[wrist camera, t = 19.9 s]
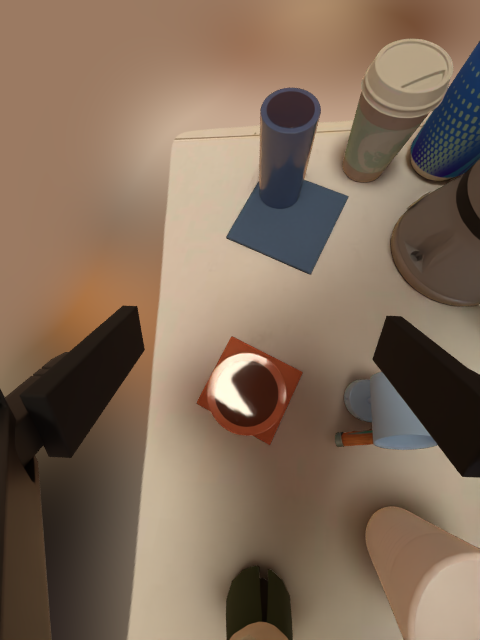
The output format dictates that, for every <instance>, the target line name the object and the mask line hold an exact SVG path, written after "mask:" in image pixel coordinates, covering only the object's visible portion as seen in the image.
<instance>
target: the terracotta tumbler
mask: <svg viewBox="0 0 480 640" xmlns="http://www.w3.org/2000/svg"><path fill="white" fill-rule="evenodd" d="M207 401H208V406H209V409H210V411H211V413H212V415H213V417H214V418H215V420H216V421H217V422H218V423H219V424H220V425H221V426H222V427H223V428H225V429H226V430H228V431H230V432H232V433H235V434H238V435H246V436H249V435H256V434H259V433H262V432H264V431H266V430H268V429H269V428H270V427H272V426H273V425H274V424H275V423H276V422H277V420H278V419H279V418H280V416H281V414H282V412H283V410H284V407H285V403H286V386H285V382H284V379H283V377H282V375H281V373H280V371H279V370H278V368H277V367H276V366H275V365H274V364H273V363H272V362H271V361H270V360H268V359H267V358H265V357H263V356H261V355H258V354H254V353H238V354H235V355H232V356H230V357H228V358H226V359H225V360H223V361H222V362H221V363H220V364H219V365H218V366H217V367H216V368H215V369H214V371H213V373H212V374H211V377H210V379H209V382H208V387H207Z"/></svg>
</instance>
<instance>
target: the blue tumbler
mask: <svg viewBox="0 0 480 640" xmlns="http://www.w3.org/2000/svg"><path fill="white" fill-rule="evenodd" d="M320 113H321V108H320V104H319V102H318V100H317V98H316V97H315V96H314V95H313V94H311V93H310V92H308V91H306V90H303V89H300V88H284V89H280V90H277V91H275V92H273V93H272V94H270V95H269V96H268V97H267V98H266V99H265V100H264V102H263V104H262V106H261V116H260V159H259V196H260V198H261V200H262V201H263V202H264V203H265V204H266V205H268V206H269V207H272V208H276V209H283V208H287V207H290V206H292V205H293V204H295V203H296V202H297V200H298V199H299V197H300V194H301V190H302V186H303V182H304V178H305V174H306V170H307V166H308V162H309V158H310V154H311V150H312V146H313V142H314V138H315V134H316V130H317V126H318V122H319V118H320Z"/></svg>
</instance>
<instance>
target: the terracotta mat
mask: <svg viewBox="0 0 480 640" xmlns="http://www.w3.org/2000/svg"><path fill="white" fill-rule="evenodd" d="M238 353H254V354H258V355H261V356H263V357H265V358H267V359H268V360H270V361H271V362H272V363H273V364H274V365H275V366H276V367H277V368H278V370H279V371H280V373H281V375H282V377H283V379H284V382H285V386H286V403H285V407H284V410H283V412H282V414H281V416H280V418H279V419H278V420H277V422H276V423H275V424H274V425H273V426H272V427H270V428H269V429H268V430H266V431H264V432H262V433H259V434H256V435H253V436H255V437H256V438H258V439H260V440H262V441H263V442H265V443H267V444H269V445H270V443H271V441H272V439H273V437H274V435H275V432H276V430H277V428H278V426H279V424H280V421H281V419H282V417H283V415H284V413H285V410H286V408H287V406H288V404H289V402H290V399H291V397H292V395H293V393H294V391H295V388H296V386H297V384H298V382H299V380H300V377H301V375H302V373H303V372H301V371H299V370H298V369H296V368H294V367H292V366H290V365H288V364H286V363H284V362H282V361H280V360H278V359H276V358H274V357H272V356H270V355H268V354H266V353H264V352H262V351H260V350H258V349H256V348H254V347H252V346H250V345H248V344H246V343H244V342H242V341H240V340H238V339H236V338H234V337H231V338H230V340H229V342H228V344H227V346H226V348H225V350H224V352H223V354H222V355H221V357H220V359H219V361H218V363H217V365H216V367H217V366H218V365H219V364H220V363H221V362H222V361H223V360H225V359H226V358H228V357H230V356H232V355H235V354H238ZM216 367H215V368H216ZM212 373H213V372H212ZM210 377H211V376H210ZM209 379H210V378H209ZM208 382H209V380H208ZM208 382H207V384H206V386H205V388H204V389H203V391H202V393H201V395H200V397H199V399H198V401H197V404H198V405H200V406H202V407H204V408H205V409H207V410H209V411H210V409H209V406H208V401H207V387H208Z"/></svg>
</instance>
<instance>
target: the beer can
mask: <svg viewBox="0 0 480 640" xmlns="http://www.w3.org/2000/svg"><path fill="white" fill-rule="evenodd" d="M479 159H480V41H479V43H478V44H477V46H476V47H475V49H474V50H473V52H472V53H471V55H470V57H469V58H468V59H467V61H466V62H465V64H464V65H463V67H462V68H461V70H460V71H459V73H458V74H457V76H456V78H455V79H454V80H453V82H452V83H451V85H450V86H449V88H448V89H447V92H446V94H445V95H444V98H443V100H442V102H441V103H440V105H439V106H438V107H437V108H436V109H434V111H433V112H432V114H431V115H430V117H429V118H428V120H427V121H426V123H425V124H424V126H423V127H422V129H421V130H420V132H419V133H418V135H417V136H416V138H415V139H414V141H413V143H412V145H411V164H412V166H413V168H414V169H415V171H416V172H417V173H418V174H420V175H421V176H423V177H425V178H427V179H430V180H435V181H443V180H448V179H450V178H454V177H458V176H460V175H462V174H464V173H466V172H467V171H468V170H469V169H470V168H471V167H472V166H473V165H474V164H475V163H476V162H477V161H478V160H479Z"/></svg>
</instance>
